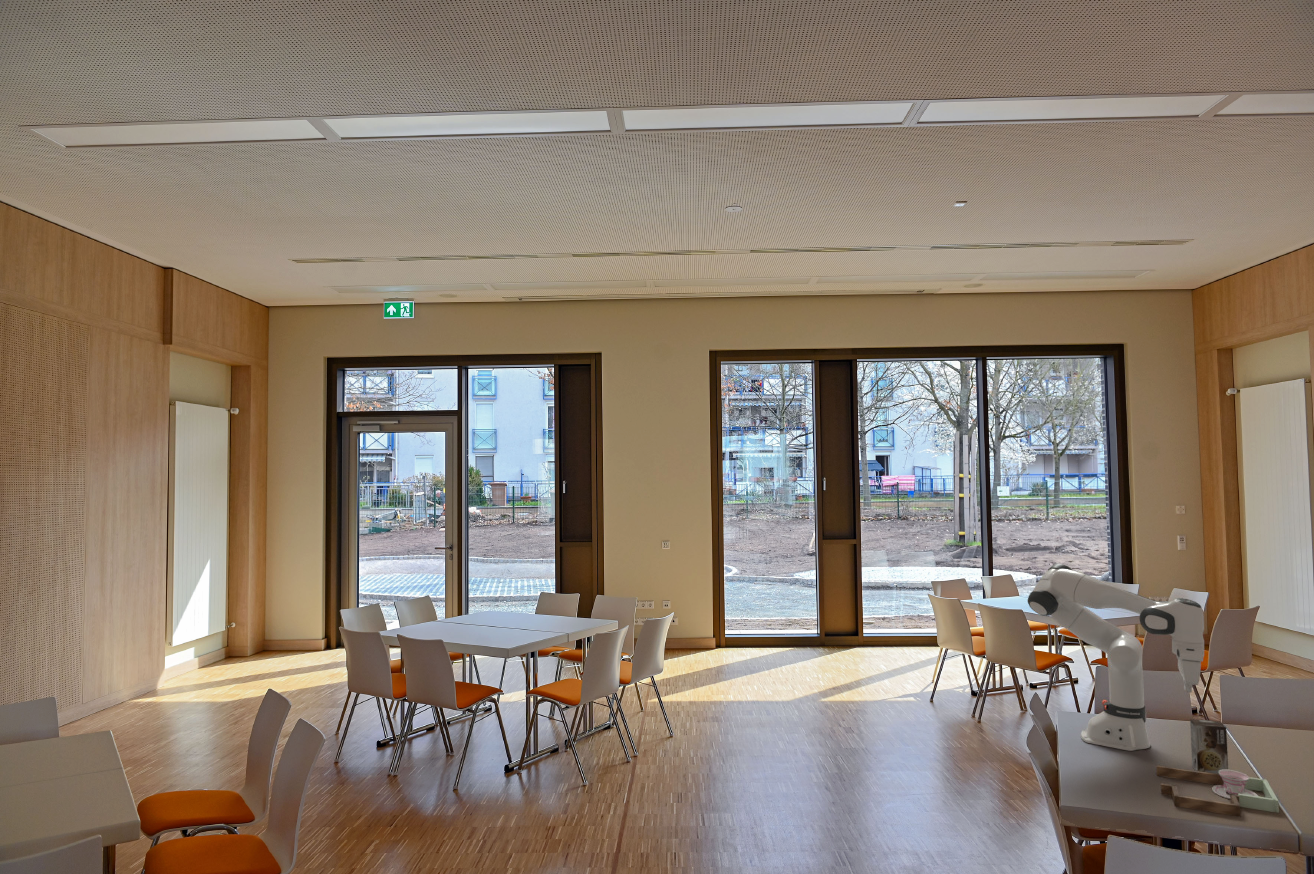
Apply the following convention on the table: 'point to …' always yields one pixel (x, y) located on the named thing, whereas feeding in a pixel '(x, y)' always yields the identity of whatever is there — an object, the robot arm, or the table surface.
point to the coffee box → (1208, 746)
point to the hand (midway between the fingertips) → (1187, 691)
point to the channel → (1197, 803)
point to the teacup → (1232, 784)
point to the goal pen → (1259, 802)
